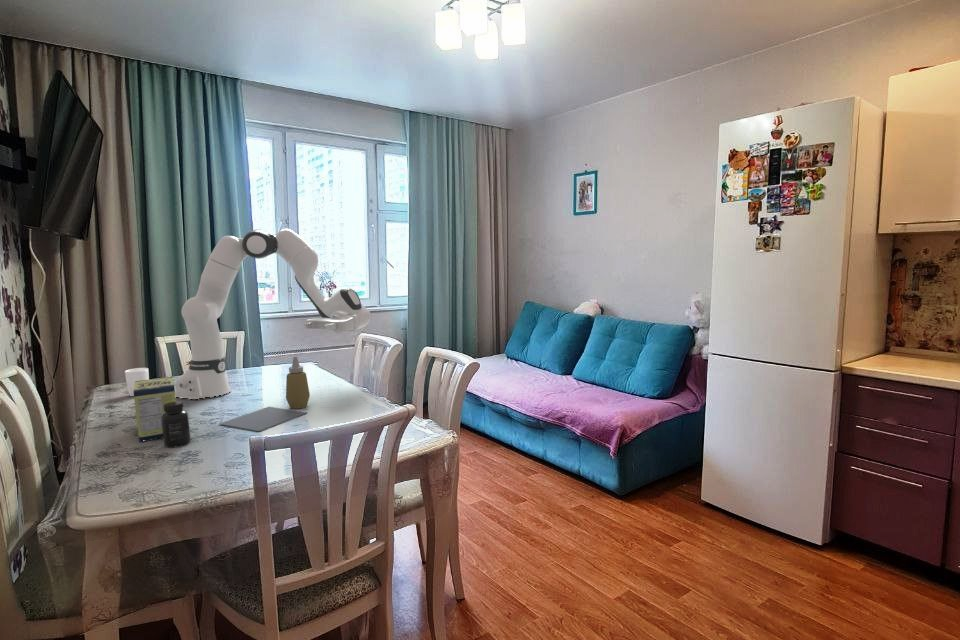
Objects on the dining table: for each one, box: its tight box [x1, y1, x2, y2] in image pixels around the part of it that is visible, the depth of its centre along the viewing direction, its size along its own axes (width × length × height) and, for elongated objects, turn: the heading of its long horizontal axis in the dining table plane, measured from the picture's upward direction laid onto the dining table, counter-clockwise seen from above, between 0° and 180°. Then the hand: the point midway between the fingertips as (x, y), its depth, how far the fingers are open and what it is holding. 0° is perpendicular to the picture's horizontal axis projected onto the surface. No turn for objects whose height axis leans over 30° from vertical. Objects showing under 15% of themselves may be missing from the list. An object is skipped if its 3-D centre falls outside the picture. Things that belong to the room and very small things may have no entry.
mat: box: [218, 406, 308, 433], centre depth 173 cm, size 20×18×1 cm
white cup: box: [124, 367, 150, 395], centre depth 208 cm, size 8×8×10 cm
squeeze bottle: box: [285, 356, 311, 410], centre depth 185 cm, size 8×8×18 cm
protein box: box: [133, 376, 177, 442], centre depth 162 cm, size 10×16×16 cm
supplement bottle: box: [161, 400, 192, 448], centre depth 151 cm, size 7×7×12 cm
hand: (315, 327), depth 198 cm, fingers open, 8 cm apart
